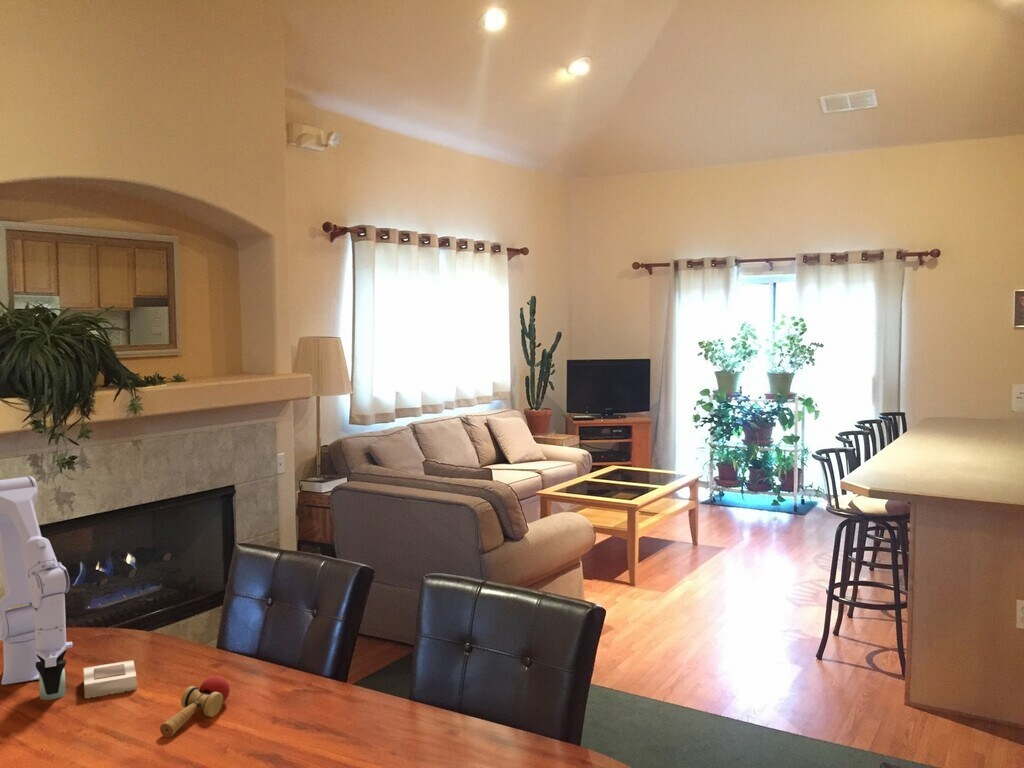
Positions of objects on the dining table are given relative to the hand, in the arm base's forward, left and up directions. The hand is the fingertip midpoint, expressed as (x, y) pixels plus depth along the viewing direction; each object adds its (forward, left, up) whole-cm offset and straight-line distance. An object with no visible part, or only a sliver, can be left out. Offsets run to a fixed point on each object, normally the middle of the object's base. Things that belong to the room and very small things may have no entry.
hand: (52, 688), depth 185 cm
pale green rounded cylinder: (0, 0, -1) cm, 1 cm away
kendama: (+24, +26, -2) cm, 35 cm away
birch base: (0, +11, -1) cm, 11 cm away
